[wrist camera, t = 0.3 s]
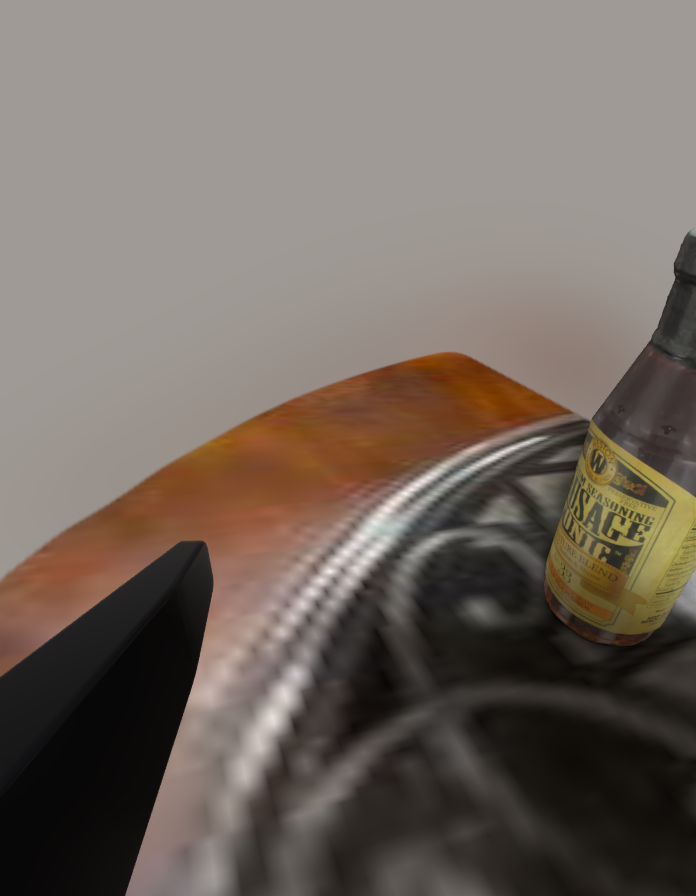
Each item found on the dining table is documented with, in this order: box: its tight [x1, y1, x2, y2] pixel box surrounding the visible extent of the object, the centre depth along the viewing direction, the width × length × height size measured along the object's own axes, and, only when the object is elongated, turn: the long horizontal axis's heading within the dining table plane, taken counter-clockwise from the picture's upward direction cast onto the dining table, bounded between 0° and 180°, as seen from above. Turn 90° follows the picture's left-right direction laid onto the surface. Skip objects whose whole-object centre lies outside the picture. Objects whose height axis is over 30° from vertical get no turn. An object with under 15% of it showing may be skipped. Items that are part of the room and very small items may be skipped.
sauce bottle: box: [544, 227, 696, 646], centre depth 22 cm, size 6×6×20 cm
